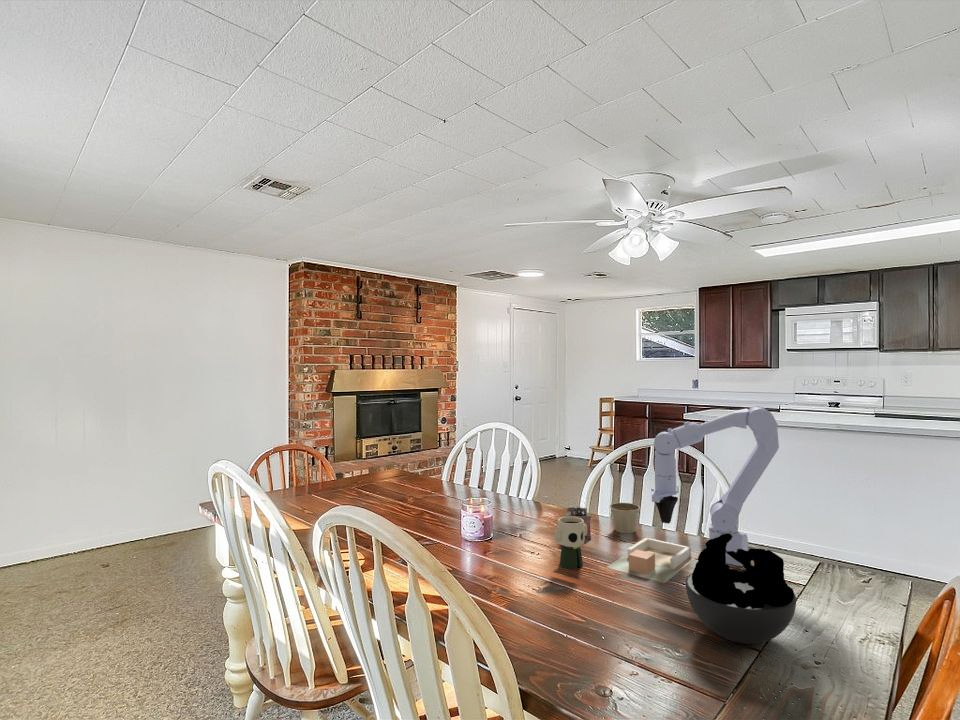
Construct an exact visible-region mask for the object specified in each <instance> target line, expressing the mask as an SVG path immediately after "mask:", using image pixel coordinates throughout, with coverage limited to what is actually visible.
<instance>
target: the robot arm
mask: <svg viewBox="0 0 960 720" xmlns="http://www.w3.org/2000/svg"><path fill="white" fill-rule="evenodd" d="M747 426H748V427H749V429H750V430H751V431H752V433H753V436H754V439H755V441H756V445H755V446H754V448H753V450H752V452H751V453H750V455H749V456H748V457H747V460H746V461H745V462H744V464H743V466H742V467H741V469H740V470H739V472H738V473H737V475H736V477H735V478H734V480H733V481H732V483H731V485H730V486H729V487H728V489H727V491H726V492H725V493H724V494H723V495H722V496H721V498H719V500H717V501H715V502H713V503H712V505H711V506H710V508H709V514H710V521H711V523H710V524H709V525H708V540H709V539H714V538H716V537H719V536H720V535H722V534H726V533H728V534H731V535H732V536H733V537H732V539H731V540H730V541H729V542H728V543H727V546H726V551H734V552H737V549H743V550H745V551H748V550H749V538H748V535H747V533H744V532H741V531H739V530H738V527H737V524H738V517H739V515H740V513H741V511H742V508H743V505H744V503H745V502H746V500H747V499H748V497H749V496H750V494H751V493H752V491H753V489H754V488H755V486H756V484H757V483H758V482H759V480H760V478H762V476H763V474H764V472H765V471H766V469H767V468H768V466H769V465H770V463H771V462H772V460H773V458H774V457H775V455H776V454H777V452H778V450H779V448H780V445H779V443H780V441H779V432H778V423H777V421H776V419H775V417H774V415H773V413H772V412H770V411H769V410H767V409H766V408H765V407H763V406H759V405H753V406H751V407H750V408H743V409H742V408H741V409H738V410H735V411H732V412H729V413H727V414H726V413H725V414H724V415H721V416H718V417H716V418H713V419H711V420H708V421H706V422H703V423H701V424H699V423H696V422H694V421H692V422H690V421H685V422H684V423H683V425H680V426H678V427H675V428H673V429H672V428H671V427H669V428H668V429H667V431H660V432H659V433H658V434H657V435H655V438H654V441H653V445H654V449H655V451H654V456H655V457H654V487H651V489H650V490H651V491H650V492H653V493H652V494H651V502H653V503H654V504H655V505H656V507H657V510H658V514H659V516H660V517H659V518H660V522H661V523H664V524H671V521H672V518H673V513H674V509H675V506H676V504H677V503H678V500H679V497H677V496H676V495H678V494H679V492H680V491H679V487H680V486H679V485H677V465H676V464H677V459H676V456H675V454H676V452H675V450H676V449H679V450H680V449H683V448H686V447H689V446H692V445H695V444H698V443H701V442H703V439H704V437H705V436H707V435H711V434H713V433H717V432H720V431H723V430H727V429H730V428H733V427H734V428H740V429H747ZM725 564H727V565H734V566H739V567H743V566H744V565H742V564H741V563H739V562H738V561H736V560H735V559H733V558H732V557H731V556H730V555H729V554H727V553H726V563H725Z"/></svg>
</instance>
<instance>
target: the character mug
mask: <svg viewBox="0 0 960 720" xmlns="http://www.w3.org/2000/svg"><path fill="white" fill-rule="evenodd" d="M553 535H554V537H553V538H554V539H553V540H554V542H555V543H557V542H558V544H559V545H561V548H560V549H561V551H560V558H559V566H560V567H561V568H564V569H568V570H577V569H578V567H579V569H582V568H583V567H584V565H583V564H584V562H583V556H582V555H583V554H582V549H581V547H582V546H583V545H584V543H585V542H586V540H585V536H586V535H587V525H586V524H584V520H583V519H581V518H578V517H568V516H567V517H565V516H562V517H559V518H558V519H557V529H554V534H553Z"/></svg>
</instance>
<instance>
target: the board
mask: <svg viewBox="0 0 960 720" xmlns="http://www.w3.org/2000/svg"><path fill="white" fill-rule="evenodd" d="M644 551H646V552H650V553H654V554H655V569H654V570H653V571H652V572H650V573H649V574H648V575H646V574H642V573H638V572H634V571H631V570H629V558H628V553H626V554H625V555H622V556H621V557H619V558H618V559H616V560H615V561H613V562H612V563H610V564H609V565H607V566H605V568H606V569H611V570H613V571H617V572H621V573H625V574H629V575H632V576H636V577H640V578H643V579H646V580H652V581H656V582H660V583H663V584H665V583H667V582H668V581H669V580H671V579H672V578H673V577H674V576H676V574H678V573H679V572H681V571H682V570H683V569H684V568H685V567H687V566H688V565H689V564H691V563H692V562H693V561H694V560H695V559H696V558H697V557H696V556H692V555H691V556H690V557H689V558H688V559H687V560H685V561H684V562H683V563H681V564H680V565H679V566H678V567H676V568H675V569H671V568H670V559H671V558H672V557H673V556H675V555H676V554H673V553H668V552H664V551H660V550H655V549H651V548H647V549H645V550H644Z"/></svg>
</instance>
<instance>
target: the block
mask: <svg viewBox="0 0 960 720" xmlns="http://www.w3.org/2000/svg"><path fill="white" fill-rule="evenodd" d="M654 569H655V554H654V553H650V552H646V551H641V550H635V551H634V552H632V553H631V554H629V570H631V571H634V572H638V573H642V574H646V575H648V574H649V573H650V572H652V571H653V570H654Z"/></svg>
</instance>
